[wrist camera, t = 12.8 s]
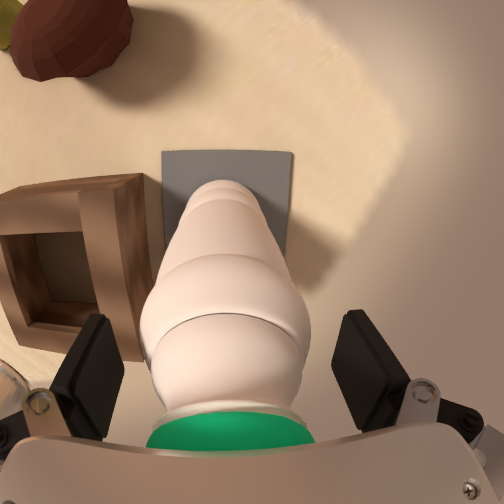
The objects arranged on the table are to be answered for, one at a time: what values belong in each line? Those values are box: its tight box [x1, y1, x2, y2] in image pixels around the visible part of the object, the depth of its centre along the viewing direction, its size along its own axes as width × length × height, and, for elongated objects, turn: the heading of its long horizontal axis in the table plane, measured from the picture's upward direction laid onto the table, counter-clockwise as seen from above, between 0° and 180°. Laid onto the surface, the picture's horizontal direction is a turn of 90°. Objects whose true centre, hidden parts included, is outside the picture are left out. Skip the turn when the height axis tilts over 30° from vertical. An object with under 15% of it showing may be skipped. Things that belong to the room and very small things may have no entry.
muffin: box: [10, 0, 133, 82], centre depth 14 cm, size 12×11×10 cm
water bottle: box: [139, 180, 315, 451], centre depth 16 cm, size 7×7×25 cm
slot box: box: [0, 173, 153, 362], centre depth 24 cm, size 16×16×8 cm
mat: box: [161, 150, 291, 258], centre depth 28 cm, size 12×12×1 cm
